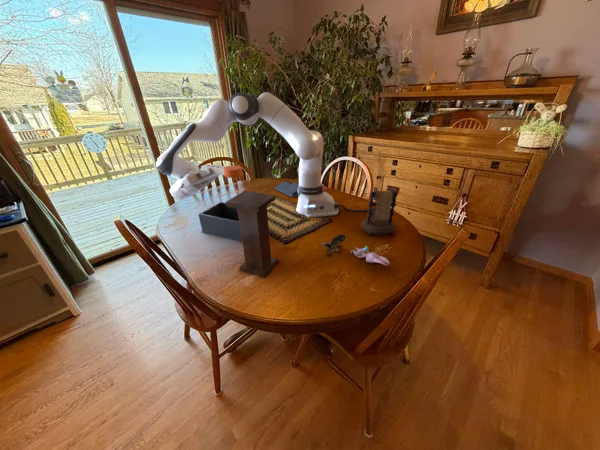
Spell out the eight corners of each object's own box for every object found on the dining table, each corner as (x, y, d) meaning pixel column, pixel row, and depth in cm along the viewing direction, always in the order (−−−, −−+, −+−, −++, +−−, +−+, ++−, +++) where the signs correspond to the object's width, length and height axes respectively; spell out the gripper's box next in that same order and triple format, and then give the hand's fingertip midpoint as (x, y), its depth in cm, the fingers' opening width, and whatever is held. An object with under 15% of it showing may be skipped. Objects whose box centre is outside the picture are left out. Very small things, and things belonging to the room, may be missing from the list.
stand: (237, 270, 83) (225, 201, 70) (253, 254, 91) (245, 190, 78) (265, 278, 79) (258, 207, 66) (279, 261, 87) (275, 195, 75)
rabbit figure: (348, 258, 90) (382, 272, 79) (347, 244, 88) (383, 257, 77) (358, 252, 94) (393, 265, 82) (358, 238, 92) (393, 250, 80)
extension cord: (199, 173, 97) (197, 166, 95) (211, 169, 102) (209, 162, 101) (235, 178, 90) (234, 170, 89) (246, 173, 96) (245, 166, 95)
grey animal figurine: (343, 257, 87) (349, 241, 93) (333, 242, 85) (340, 227, 91) (326, 260, 92) (334, 245, 98) (316, 247, 90) (325, 232, 96)
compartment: (202, 231, 107) (198, 214, 102) (223, 218, 118) (220, 201, 114) (244, 242, 99) (241, 223, 95) (262, 226, 111) (260, 208, 106)
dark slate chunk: (290, 183, 164) (290, 177, 162) (312, 192, 150) (312, 184, 147) (272, 188, 155) (272, 181, 153) (293, 198, 141) (293, 190, 138)
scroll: (364, 238, 101) (370, 193, 91) (358, 221, 114) (363, 181, 104) (399, 238, 100) (409, 194, 90) (389, 222, 113) (397, 181, 103)
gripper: (171, 181, 95) (190, 167, 88) (207, 169, 112) (225, 156, 104) (180, 195, 97) (200, 182, 89) (214, 180, 113) (233, 169, 106)
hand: (214, 168), depth 97 cm, fingers closed on extension cord, 3 cm apart
